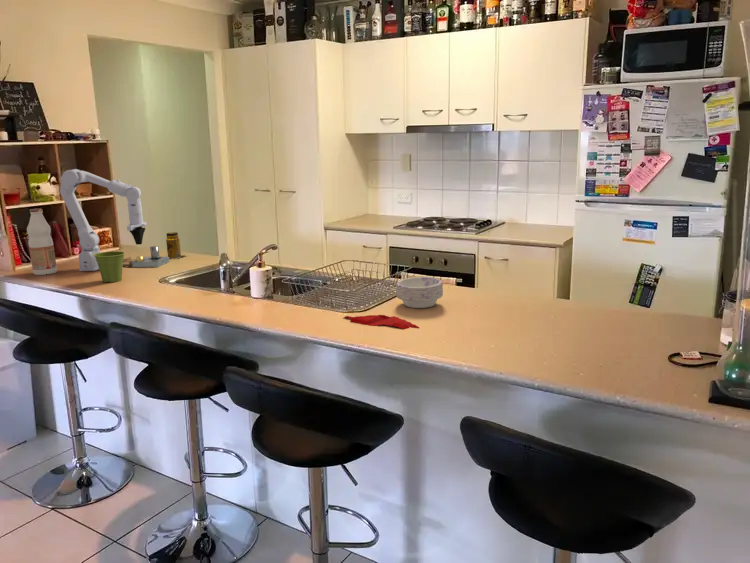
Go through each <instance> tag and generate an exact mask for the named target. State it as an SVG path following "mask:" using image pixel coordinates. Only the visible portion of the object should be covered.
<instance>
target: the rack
mask: <svg viewBox="0 0 750 563" xmlns="http://www.w3.org/2000/svg"><path fill="white" fill-rule="evenodd" d="M135 260H137V259H136V258H135V259H132V257H131V256H129V257H125V258H124V259H123V267H122V268H124V267H125V268H126V267H127V266H128V267H127V268H130V267H129V266H132V262H133V261H135ZM132 267H133V266H132Z"/></svg>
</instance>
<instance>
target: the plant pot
mask: <svg viewBox="0 0 750 563" xmlns="http://www.w3.org/2000/svg"><path fill="white" fill-rule="evenodd" d="M125 255H126V251H119V250H115V251H103V252H101V251H100V253H96V254H94V256H95V258H96V261H97V263H98V266H99V269H98V270H99V273H100V276H101V280H102V282H103V283H108V282H109V283H117V281H118V282H120V281H122V280H123V279H122V278H123V268H124V267H123V259H125Z"/></svg>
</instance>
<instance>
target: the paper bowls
mask: <svg viewBox="0 0 750 563" xmlns="http://www.w3.org/2000/svg"><path fill="white" fill-rule="evenodd" d="M443 284H444V283H443V280H442V279H439V278H435V277H428V276H421V277H420V276H418V277H407V278H403V279H401V280H398V281H397V282H396V284H395V285H396V286H395V287H396V297H397V298H398V299H399V300H401V301H402V303H403V305H404V306H406V307H408V308H411V309H426V308H431V307H433V306H435V305H436V304H437V301H438V300H439V299H441V298H442V297H443V295H444V289H443V288H444V287H443Z"/></svg>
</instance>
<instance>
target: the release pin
mask: <svg viewBox="0 0 750 563" xmlns="http://www.w3.org/2000/svg"><path fill="white" fill-rule="evenodd" d="M143 257H144V256H140V255H139V256H136V257H135V259H137V261H143Z"/></svg>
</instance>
